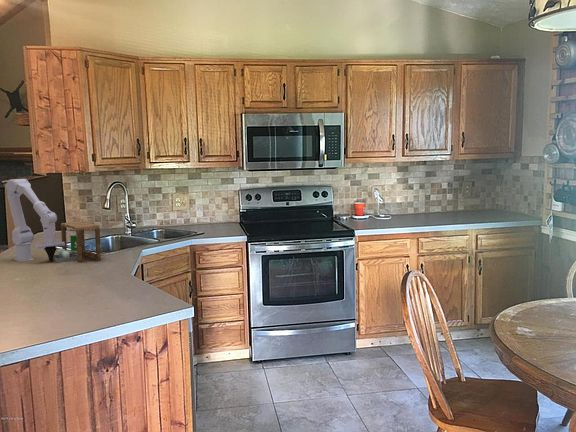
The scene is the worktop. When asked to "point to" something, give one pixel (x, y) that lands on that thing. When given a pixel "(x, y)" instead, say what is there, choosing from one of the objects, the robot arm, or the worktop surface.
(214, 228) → the worktop surface
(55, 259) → the tray
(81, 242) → the small wooden stool
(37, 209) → the robot arm
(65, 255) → the mint green capsule
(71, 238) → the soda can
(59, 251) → the pale green rounded cylinder
